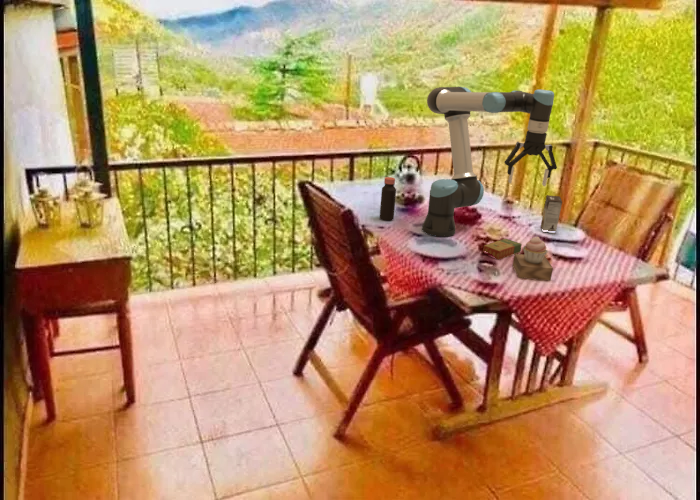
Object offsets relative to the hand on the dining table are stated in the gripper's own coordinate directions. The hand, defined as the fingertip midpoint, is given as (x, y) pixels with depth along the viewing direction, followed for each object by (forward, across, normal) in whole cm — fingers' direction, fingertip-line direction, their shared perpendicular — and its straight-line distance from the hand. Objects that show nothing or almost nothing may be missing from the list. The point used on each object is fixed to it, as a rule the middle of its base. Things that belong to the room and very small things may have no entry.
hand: (526, 183), depth 228 cm
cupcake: (+25, +3, -20) cm, 32 cm away
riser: (+30, +3, -21) cm, 36 cm away
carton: (+31, -5, -2) cm, 31 cm away
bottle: (+31, -55, +30) cm, 70 cm away
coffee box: (+31, +22, +33) cm, 50 cm away
